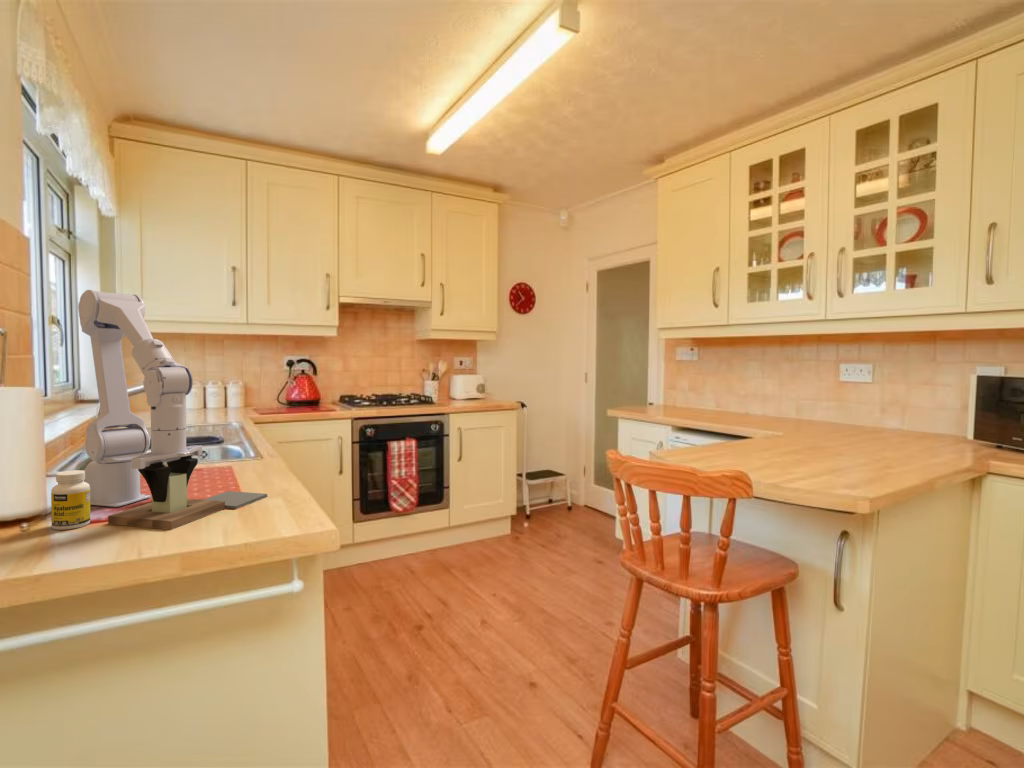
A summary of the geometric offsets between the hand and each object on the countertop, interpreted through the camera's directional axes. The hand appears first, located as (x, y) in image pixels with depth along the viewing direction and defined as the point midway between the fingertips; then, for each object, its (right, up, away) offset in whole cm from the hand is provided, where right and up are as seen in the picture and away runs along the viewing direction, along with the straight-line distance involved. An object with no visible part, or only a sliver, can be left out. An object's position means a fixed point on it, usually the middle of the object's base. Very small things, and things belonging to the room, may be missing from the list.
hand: (169, 498), depth 101 cm
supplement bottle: (-13, -4, -7) cm, 15 cm away
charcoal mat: (+6, -3, +11) cm, 13 cm away
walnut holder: (0, -3, 0) cm, 3 cm away
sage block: (0, -2, 0) cm, 2 cm away
